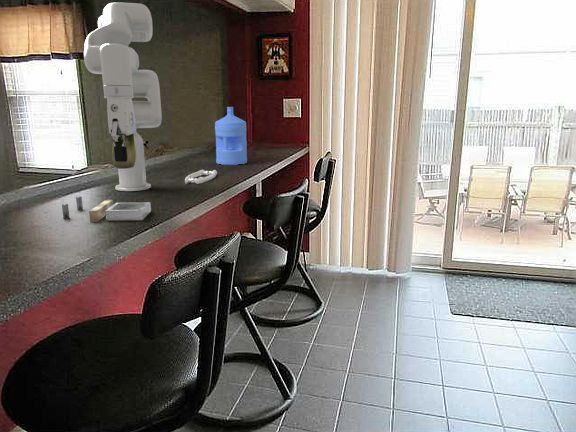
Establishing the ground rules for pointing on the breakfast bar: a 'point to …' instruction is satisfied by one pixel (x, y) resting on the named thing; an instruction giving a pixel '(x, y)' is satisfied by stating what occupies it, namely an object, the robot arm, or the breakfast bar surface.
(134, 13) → the robot arm
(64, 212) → the pegs
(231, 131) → the water jug
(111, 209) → the frame
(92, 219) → the door edge rail
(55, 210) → the breakfast bar surface
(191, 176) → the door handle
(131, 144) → the fennel bulb
